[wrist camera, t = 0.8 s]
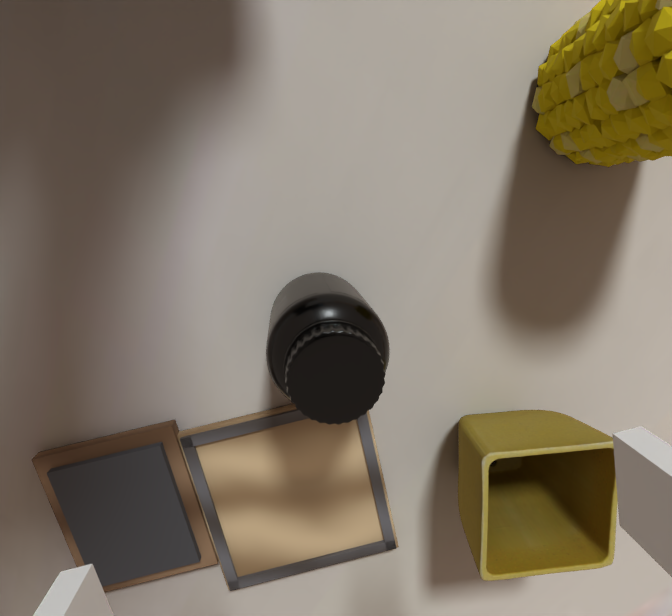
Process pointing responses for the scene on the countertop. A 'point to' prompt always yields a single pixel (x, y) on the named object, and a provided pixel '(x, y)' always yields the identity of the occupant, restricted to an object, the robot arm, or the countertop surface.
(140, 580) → the ink tray
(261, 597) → the countertop surface
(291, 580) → the countertop surface
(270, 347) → the supplement bottle
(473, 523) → the flower pot
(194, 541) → the pad
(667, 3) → the food
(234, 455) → the board
